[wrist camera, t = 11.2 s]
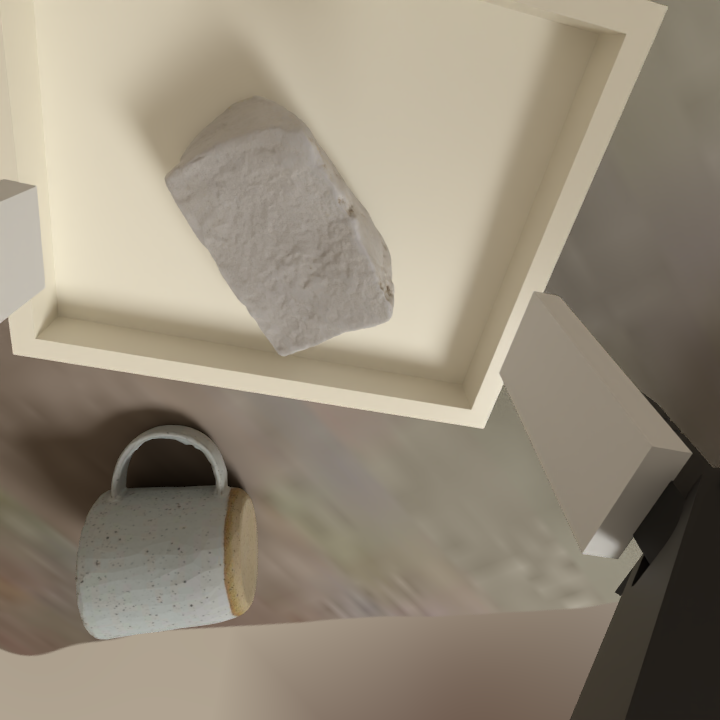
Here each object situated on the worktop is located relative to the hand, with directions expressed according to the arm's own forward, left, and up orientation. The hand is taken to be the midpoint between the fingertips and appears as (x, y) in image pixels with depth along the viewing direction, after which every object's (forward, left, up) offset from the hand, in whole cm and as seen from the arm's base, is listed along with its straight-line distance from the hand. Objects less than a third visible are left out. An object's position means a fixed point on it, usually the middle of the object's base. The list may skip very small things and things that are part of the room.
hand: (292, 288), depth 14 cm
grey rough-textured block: (0, +1, -10) cm, 10 cm away
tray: (0, 0, -10) cm, 10 cm away
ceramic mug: (+4, +19, -11) cm, 22 cm away
